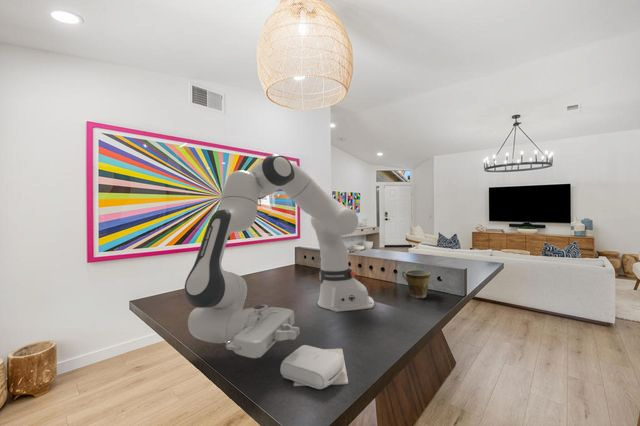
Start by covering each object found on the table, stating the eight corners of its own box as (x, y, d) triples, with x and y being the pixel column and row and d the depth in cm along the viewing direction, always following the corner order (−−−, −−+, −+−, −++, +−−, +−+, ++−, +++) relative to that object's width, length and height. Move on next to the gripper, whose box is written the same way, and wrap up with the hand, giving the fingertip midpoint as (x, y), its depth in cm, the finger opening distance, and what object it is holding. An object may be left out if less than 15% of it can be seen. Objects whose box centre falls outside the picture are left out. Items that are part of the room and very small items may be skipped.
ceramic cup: (435, 296, 121) (434, 272, 121) (420, 301, 115) (420, 276, 115) (410, 289, 132) (409, 267, 132) (395, 293, 126) (395, 271, 126)
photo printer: (304, 341, 73) (348, 353, 67) (305, 358, 73) (348, 371, 67) (279, 360, 65) (326, 375, 58) (279, 379, 65) (327, 396, 58)
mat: (342, 350, 78) (342, 348, 78) (348, 384, 63) (348, 382, 63) (298, 351, 78) (298, 350, 78) (293, 385, 63) (293, 384, 63)
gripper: (220, 333, 63) (277, 340, 58) (265, 302, 82) (310, 306, 78) (221, 361, 63) (278, 370, 59) (266, 324, 82) (311, 329, 78)
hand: (297, 333), depth 68 cm, fingers closed
